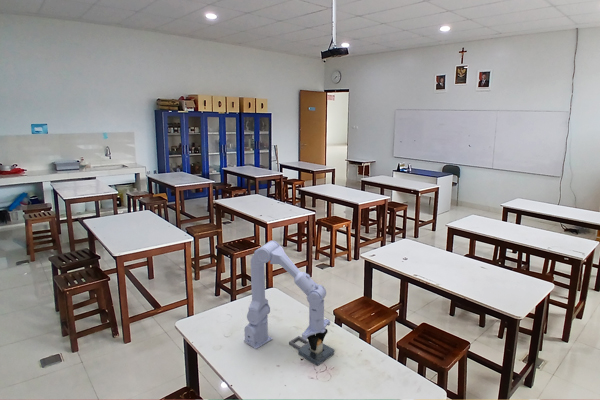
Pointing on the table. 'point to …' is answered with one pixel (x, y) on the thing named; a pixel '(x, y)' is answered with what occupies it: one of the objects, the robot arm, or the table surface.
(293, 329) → the table surface
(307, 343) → the grey mounting plate
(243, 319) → the table surface
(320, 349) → the plug
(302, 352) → the port block
